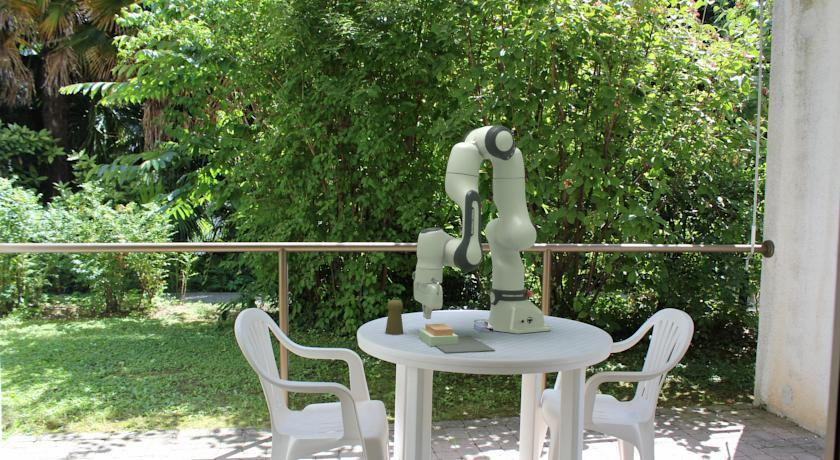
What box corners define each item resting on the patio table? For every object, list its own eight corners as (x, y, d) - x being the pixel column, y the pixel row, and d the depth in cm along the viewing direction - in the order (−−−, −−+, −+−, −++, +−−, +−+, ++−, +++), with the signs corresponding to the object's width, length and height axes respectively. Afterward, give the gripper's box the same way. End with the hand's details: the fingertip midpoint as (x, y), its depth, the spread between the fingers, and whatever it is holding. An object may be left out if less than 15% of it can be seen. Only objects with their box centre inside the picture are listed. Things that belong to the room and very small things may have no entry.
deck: (445, 337, 235) (445, 328, 235) (457, 345, 224) (458, 335, 223) (418, 338, 232) (419, 329, 232) (430, 346, 221) (430, 337, 221)
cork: (399, 335, 236) (400, 302, 236) (382, 333, 238) (383, 300, 238) (405, 331, 242) (406, 299, 241) (389, 330, 244) (390, 298, 243)
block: (443, 329, 232) (443, 323, 232) (452, 335, 224) (452, 329, 224) (425, 330, 231) (425, 324, 230) (434, 336, 222) (434, 329, 222)
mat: (469, 336, 237) (469, 335, 237) (495, 351, 217) (495, 349, 217) (423, 338, 232) (423, 337, 232) (445, 353, 212) (445, 352, 212)
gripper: (448, 281, 227) (446, 324, 228) (428, 273, 247) (426, 312, 247) (429, 280, 225) (427, 324, 226) (411, 272, 245) (409, 313, 246)
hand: (426, 318), depth 237 cm, fingers closed
